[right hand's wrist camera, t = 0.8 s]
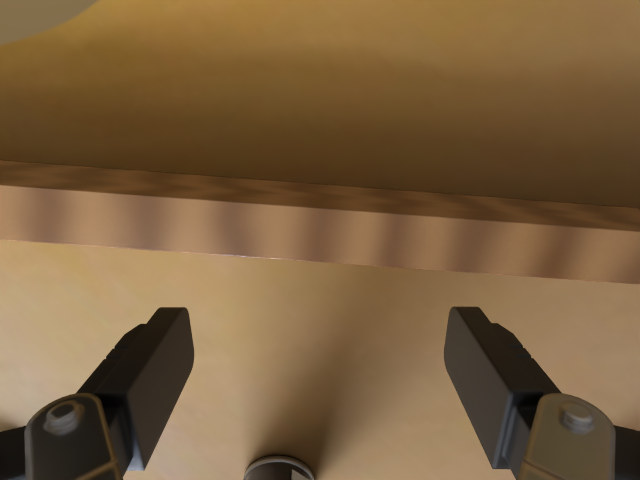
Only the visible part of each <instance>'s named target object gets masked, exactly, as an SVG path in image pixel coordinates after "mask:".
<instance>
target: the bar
mask: <svg viewBox="0 0 640 480" xmlns="http://www.w3.org/2000/svg"><path fill="white" fill-rule="evenodd" d="M0 240H10V241H25V242H39V243H53V244H68V245H82V246H97V247H111V248H125V249H140V250H154V251H168V252H183V253H197V254H212V255H226V256H240V257H255V258H269V259H283V260H298V261H312V262H327V263H341V264H355V265H370V266H384V267H398V268H413V269H427V270H442V271H456V272H470V273H485V274H499V275H513V276H528V277H542V278H557V279H571V280H585V281H600V282H614V283H628V284H640V208H630V207H617V206H603V205H590V204H577V203H563V202H550V201H537V200H523V199H510V198H497V197H483V196H470V195H457V194H443V193H430V192H417V191H403V190H390V189H377V188H363V187H350V186H337V185H323V184H310V183H297V182H283V181H270V180H257V179H243V178H230V177H217V176H203V175H190V174H177V173H163V172H150V171H136V170H123V169H110V168H96V167H83V166H70V165H56V164H43V163H30V162H16V161H3V160H0Z"/></svg>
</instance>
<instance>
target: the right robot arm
mask: <svg viewBox="0 0 640 480" xmlns="http://www.w3.org/2000/svg"><path fill="white" fill-rule="evenodd" d="M444 361H445V366H446V369H447V372H448V374H449V376H450V378H451V380H452V383H453V385H454V387H455V389H456V391H457V393H458V395H459V398H460V400H461V402H462V404H463V406H464V408H465V410H466V413H467V415H468V417H469V419H470V421H471V423H472V425H473V428H474V430H475V432H476V434H477V436H478V438H479V440H480V442H481V445H482V447H483V449H484V451H485V453H486V455H487V457H488V460H489V462H490V464H491V466H492V468H493V469H511V471H512V473H513V475H514V477H515V478H516V480H640V431H636V430H632V429H628V428H623V427H619V426H615V425H613V424H612V422H611V420H610V419H609V418H608V417H607V416H606V415H605V414H604V413H603V412H602V411H601V410H599V409H598V408H597V407H595V406H594V405H592V404H591V403H589V402H587V401H585V400H583V399H580V398H578V397H575V396H572V395H568V394H563V393H561V392H560V390H559V389H558V388H557V387H556V385H555V384H554V383H553V382H552V381H551V379H550V378H549V377H548V376H547V375H546V373H545V372H544V371H543V370H542V368H541V367H540V366H539V365H538V364H537V362H536V361H535V360H534V359H533V358H531V355H530V354H529V353H528V351H527V350H526V349H525V348H523V345H522V344H521V343H520V342H519V340H518V339H517V338H516V337H515V336H514V334H513V333H511V332H510V331H508V330H507V329H505V328H504V327H502V326H501V325H499V324H498V323H491V322H490V321H489V320H488V318H487V317H486V316H485V314H484V313H483V312H482V310H481V309H480V308H479V307H452V308H451V309H450V312H449V318H448V325H447V333H446V340H445V347H444ZM193 362H194V347H193V340H192V333H191V326H190V319H189V313H188V310H187V309H186V308H185V307H161V308H159V309H158V310H157V311H156V312H155V313H154V315H153V316H152V317H151V319H150V320H149V321H148V322H147V324H140V325H138V326H137V327H135V328H134V329H132V330H131V331H129V332H128V333H126V334H125V335H124V336H123V337H122V338H121V339H120V341H119V342H118V343H117V344H116V345H115V348H114V349H112V350H111V352H110V353H109V354H108V355H107V356H106V359H104V360H103V361H102V362H101V364H100V365H99V366H98V367H97V368H96V370H95V371H94V372H93V373H92V374H91V376H90V377H89V378H88V379H87V380H86V382H85V383H84V384H83V385H82V387H81V388H80V389H79V390H78V391H77V393H76V394H72V395H68V396H65V397H62V398H60V399H57V400H55V401H53V402H51V403H49V404H48V405H46V406H45V407H43V408H42V409H41V410H39V411H38V412H37V413H36V414H35V415H34V416H33V417H32V418H31V419H30V420H29V422H28V424H27V425H26V426H23V427H19V428H15V429H11V430H7V431H2V432H0V480H123V476H124V474H125V472H126V470H145V468H146V466H147V464H148V462H149V459H150V457H151V455H152V453H153V451H154V449H155V447H156V445H157V443H158V440H159V438H160V436H161V434H162V432H163V430H164V428H165V426H166V424H167V421H168V419H169V417H170V415H171V413H172V411H173V409H174V407H175V404H176V402H177V400H178V398H179V396H180V394H181V392H182V390H183V388H184V385H185V383H186V381H187V379H188V377H189V375H190V373H191V370H192V367H193ZM244 480H314V476H313V473H312V471H311V470H310V469H309V467H308V466H307V465H305V464H304V463H303V462H301V461H299V460H297V459H295V458H292V457H287V456H268V457H264V458H261V459H259V460H257V461H255V462H254V463H252V464H251V465H250V466H249V467H248V469H247V470H246V472H245V475H244Z"/></svg>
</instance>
